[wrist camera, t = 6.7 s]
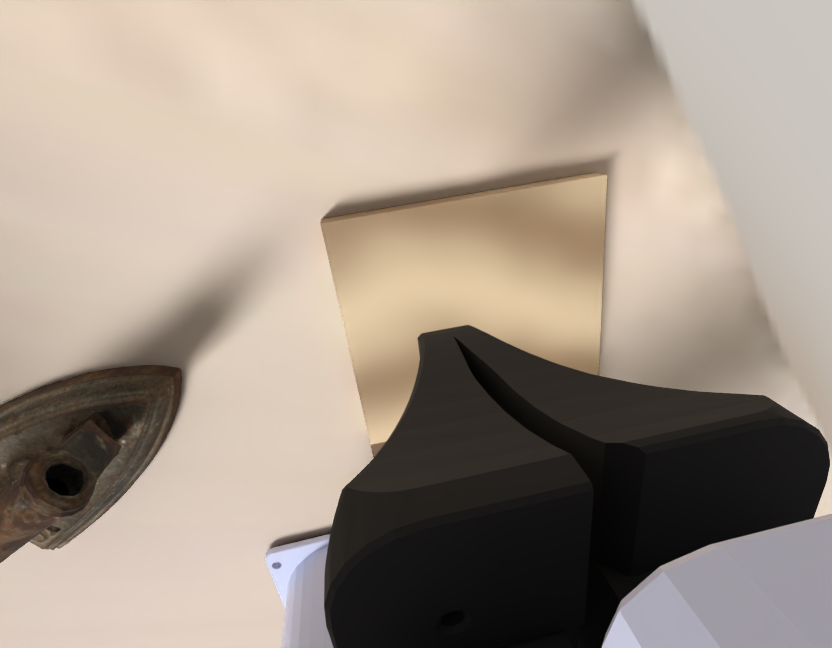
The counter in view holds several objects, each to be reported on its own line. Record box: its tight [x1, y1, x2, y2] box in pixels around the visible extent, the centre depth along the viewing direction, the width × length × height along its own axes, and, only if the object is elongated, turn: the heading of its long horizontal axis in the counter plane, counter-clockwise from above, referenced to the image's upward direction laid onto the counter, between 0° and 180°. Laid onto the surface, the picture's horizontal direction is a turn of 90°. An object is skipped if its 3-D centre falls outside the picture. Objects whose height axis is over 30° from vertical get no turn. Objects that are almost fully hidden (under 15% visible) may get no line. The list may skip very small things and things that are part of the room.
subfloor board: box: [321, 173, 607, 457], centre depth 22 cm, size 17×12×1 cm
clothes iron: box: [0, 365, 182, 563], centre depth 17 cm, size 7×11×10 cm, turn 125°
